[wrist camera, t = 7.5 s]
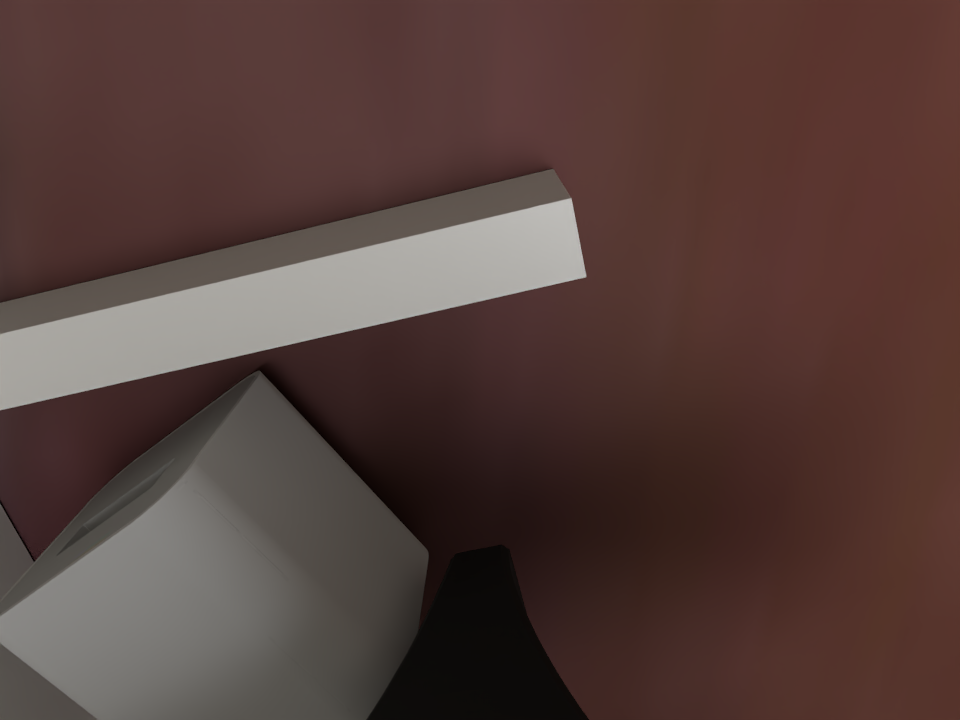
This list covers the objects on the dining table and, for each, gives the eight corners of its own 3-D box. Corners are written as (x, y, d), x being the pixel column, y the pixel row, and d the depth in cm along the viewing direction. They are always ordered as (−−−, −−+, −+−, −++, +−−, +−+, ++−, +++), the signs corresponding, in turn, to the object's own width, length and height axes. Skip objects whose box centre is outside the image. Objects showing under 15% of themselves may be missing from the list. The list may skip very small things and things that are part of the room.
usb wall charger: (271, 358, 12) (170, 494, 8) (514, 621, 14) (518, 823, 11) (110, 478, 13) (-43, 646, 9) (359, 707, 15) (313, 917, 12)
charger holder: (553, 168, 11) (570, 197, 9) (671, 766, 16) (702, 887, 14) (-156, 340, 12) (-307, 407, 10) (155, 849, 17) (103, 974, 15)
